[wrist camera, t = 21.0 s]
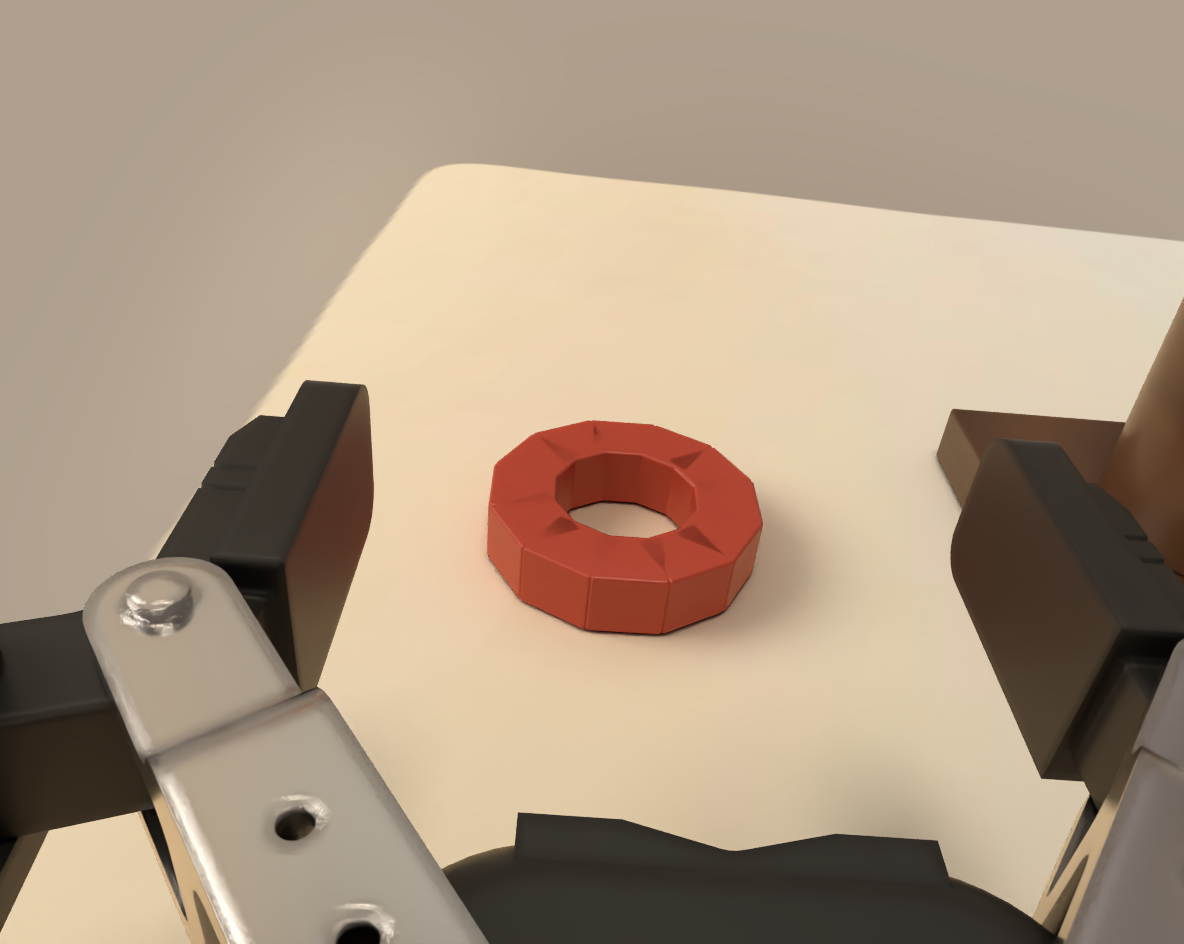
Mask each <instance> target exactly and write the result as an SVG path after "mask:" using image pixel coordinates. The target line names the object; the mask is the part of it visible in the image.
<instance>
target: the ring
mask: <svg viewBox="0 0 1184 944" xmlns="http://www.w3.org/2000/svg"><path fill="white" fill-rule="evenodd" d="M601 500H605V501H620V502H635V503H638V504H641V505H643V506H646V507H648V508H651V509H653V510H656V511H658V512H661V513H663V514H666V515H667V516H668V517H669V518H670V519H671V520H672V521H673V522H674V523H675V524H676V525H677V526H678V527H679V528H680V529H677V530H673V531H670V532H667V533H664V534H660V535H657V536H654V537H650V538H639V537H624V536H609V535H607V534H604V533H602V532H599V531H597V530H595V529H592V528H590V527H588V526H585V525H583V524H580V523H578V522H576V521H574V520H573V519H572V518H571V517H570V516H569V515H568V513H567V512H568V511H569V510H570V509H572V508H576V507H579V506H583V505H586V504H590V503H594V502H597V501H601ZM762 525H763V522H762V517H761V513H760V509H759V505H758V501H757V496H756V492H755V488H754V484H753V482H751V480H750V479H749V478H748V477H747V476H746V475H745V474H744V473H742V472H741V471H740V470H739V469H738V468H737V467H736V466H734V465H733V464H732V463H731V462H730V461H729V460H727V459H726V458H725V457H724V456H723V455H722V454H721V453H719V452H718V451H717V450H716V449H715V448H712V447H711V446H710V445H708V444H705V443H702V442H700V441H697V440H694V439H692V438H689V437H686V436H683V435H681V434H678V433H675V432H672V431H670V430H667V429H664V428H661V427H659V426H654V425H651V424H637V423H623V422H608V421H594V420H593V421H584V422H580V423H576V424H571V425H567V426H563V427H559V428H554V429H550V430H546V431H541V432H537V433H534V435H531V436H530V437H528V438H527V439H526V440H525V441H523V442H522V443H521V444H520V445H518V446H517V447H516V448H515V449H513V450H512V451H511V452H510V453H508V454H507V455H506V456H504V457H503V458H502V459H501V460H499V461H498V462H497V464H495V466H494V471H493V478H492V485H491V492H490V498H489V506H488V541H487V553H488V556H489V558H490V559H491V561H492V562H493V563H494V565H495V566H496V567H497V569H498V570H499V572H500V573H501V574H502V576H503V577H504V578H505V580H506V581H507V583H508V584H509V585H510V587H511V588H512V589H513V591H514V592H515V594H516V595H517V596H518V598H520V599H521V600H522V601H524V602H526V603H528V604H530V605H532V606H535V607H537V608H539V609H541V610H543V611H545V612H547V613H550V614H552V615H554V616H556V617H558V618H560V619H562V620H564V621H567V622H569V623H571V624H573V625H575V626H577V627H579V628H582V629H585V628H586V629H587V630H598V631H614V632H631V633H647V634H660V633H661V632H662V633H666V632H669V631H672V630H675V629H677V628H680V627H683V626H686V625H689V624H691V623H694V622H697V621H700V620H702V619H705V618H708V617H711V616H713V615H716V614H719V613H721V612H722V611H725V610H726V608H727V607H728V606H729V604H730V603H731V601H732V600H733V599H734V597H735V596H736V594H737V593H738V591H739V590H740V589H741V587H742V586H743V584H744V583H745V582H746V580H747V579H748V577H749V576H750V574H751V573H752V570H753V566H754V561H755V557H756V553H757V548H758V544H759V540H760V535H761V531H762Z"/></svg>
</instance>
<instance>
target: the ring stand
mask: <svg viewBox="0 0 1184 944" xmlns="http://www.w3.org/2000/svg"><path fill="white" fill-rule="evenodd" d="M996 438H1008V439H1020V440H1033V441H1045V442H1055V443H1057V444H1059V445H1060V446H1061V447H1062V448H1063V449H1064V451H1065V452H1066V454H1067V455H1068V456H1069V458H1070V459H1071V461H1072V462H1073V464H1074V465H1075V467H1076V468H1077V469H1078V471H1079V472H1080V474H1081V475H1082V477H1083V478H1084V479H1085V481H1086V482H1087V483H1094V484H1096V485H1097V486H1098V487H1100V488H1101V489H1102V490H1104V491H1105V492H1106V493H1108V494H1109V495H1110V496H1112V497H1113V498H1114V499H1116V500H1117V501H1118V502H1120V503H1121V504H1122V505H1123V506H1125V507H1126V508H1127V509H1128V510H1129V511H1130V512H1131V514H1132V515H1133V517H1134V518H1135V519H1136V521H1137V522H1138V523H1139V525H1140V526H1141V527H1142V529H1143V530H1144V532H1145V533H1146V534H1147V536H1148V542H1152V543H1153V544H1154V545H1155V547H1156V548H1157V549H1158V551H1159V552H1160V554H1161V555H1162V556H1163V558H1164V559H1165V560H1164V565H1169V566H1170V567H1171V569H1172V570H1173V571H1174V573H1175V574H1176V575H1177V577H1178V578H1179V580H1180V581H1181V582H1182V584H1183V585H1184V298H1183V300H1182V302H1181V305H1180V307H1179V309H1178V311H1177V313H1176V315H1175V318H1174V320H1173V322H1172V324H1171V326H1170V328H1169V331H1168V333H1167V335H1166V337H1165V339H1164V341H1163V344H1162V346H1161V348H1160V350H1159V352H1158V354H1157V357H1156V359H1155V361H1154V363H1153V365H1152V367H1151V369H1150V372H1149V374H1148V376H1147V378H1146V380H1145V382H1144V385H1143V387H1142V389H1141V391H1140V393H1139V395H1138V398H1137V400H1136V402H1135V404H1134V406H1133V408H1132V411H1131V413H1130V415H1129V417H1128V419H1127V421H1126V423H1125V422H1113V421H1100V420H1088V419H1075V418H1062V417H1050V416H1037V415H1025V414H1012V413H1000V412H987V411H975V410H962V409H952V411H951V413H950V416H949V419H948V422H947V425H946V428H945V431H944V434H943V437H942V439H941V442H940V445H939V448H938V451H937V458H938V460H939V462H940V464H941V466H942V468H943V470H944V472H945V474H946V476H947V478H948V480H949V482H950V484H951V486H952V488H953V490H954V492H955V494H956V496H957V498H958V500H959V502H960V504H961V506H962V508H963V507H964V504H965V501H966V498H967V496H968V493H969V490H970V488H971V485H972V482H973V480H974V477H975V474H976V472H977V469H978V466H979V464H980V461H981V458H982V456H983V453H984V451H985V449H986V447H987V446H988V444H989V443H990V442H991V441H992V440H993V439H996Z"/></svg>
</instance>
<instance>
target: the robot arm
mask: <svg viewBox="0 0 1184 944" xmlns="http://www.w3.org/2000/svg"><path fill="white" fill-rule="evenodd" d="M373 498H374V481H373V463H372V444H371V425H370V406H369V396H368V391H367V388H366V386H365V385H361V384H348V383H336V382H324V381H311V380H306V381H304V382H303V384H302V385H301V387H300V389H299V391H298V393H297V395H296V396H295V398H294V400H293V402H292V404H291V406H290V408H289V410H288V411H287V413H286V415H285V417H276V416H263V415H260V416H258V417H257V418H255V419H254V420H253V421H251V422H250V423H248V424H247V425H245V426H244V427H242V428H241V429H240V430H238V431H237V432H235V433H234V434H232V435H231V436H230V437H229V438H228V440H227V442H226V443H225V445H224V447H223V448H222V450H221V452H220V454H219V455H218V457H217V458H216V460H215V462H214V467H211V468H210V470H209V471H208V473H207V475H206V476H205V478H204V480H203V481H202V487H201V488H198V490H197V491H196V493H195V495H194V496H193V498H192V500H191V501H190V503H189V505H188V506H187V508H186V510H185V511H184V513H183V515H182V516H181V518H180V519H179V521H178V523H177V524H176V526H175V528H174V529H173V531H172V533H171V534H170V536H169V538H168V539H167V541H166V543H165V544H164V546H163V548H162V549H161V551H160V553H159V554H158V556H157V558H156V559H154V560H150V561H146V562H142V563H139V564H136V565H133V566H131V567H128V568H126V569H124V570H122V571H120V572H118V573H116V574H114V575H113V576H111V577H110V578H108V579H107V580H105V581H104V582H103V583H102V584H101V585H99V587H97V589H95V590H94V592H93V593H92V594H91V595H90V597H89V598H88V600H87V602H86V604H85V607H84V610H81V611H77V612H73V613H68V614H63V615H57V616H51V617H44V618H37V619H31V620H24V621H17V622H10V623H4V624H0V932H1V930H2V928H3V926H4V924H5V921H6V919H7V917H8V915H9V913H10V911H11V909H12V907H13V905H14V903H15V900H16V898H17V896H18V894H19V892H20V890H21V888H22V886H23V884H24V882H25V879H26V877H27V875H28V873H29V871H30V869H31V867H32V865H33V863H34V860H35V858H36V856H37V854H38V852H39V850H40V848H41V846H42V844H43V842H44V839H45V837H46V835H47V833H48V831H49V830H53V829H58V828H62V827H67V826H72V825H77V824H81V823H86V822H91V821H96V820H100V819H105V818H110V817H115V816H119V815H124V814H129V813H134V812H138V814H139V817H140V819H141V822H142V824H143V826H144V829H145V831H146V834H147V836H148V839H149V841H150V844H151V846H152V849H153V851H154V854H155V856H156V858H157V861H158V863H159V866H160V868H161V871H162V873H163V876H164V878H165V881H166V883H167V886H168V888H169V890H170V893H171V895H172V898H173V900H174V903H175V905H176V908H177V910H178V913H179V915H180V918H181V920H182V922H183V925H184V927H185V930H186V932H187V935H188V937H189V940H190V942H191V944H1184V585H1183V584H1182V582H1181V581H1180V580H1179V578H1178V577H1177V575H1176V574H1175V573H1174V571H1173V570H1172V569H1171V567H1170V566H1169V565H1164V560H1165V559H1164V558H1163V556H1162V555H1161V554H1160V552H1159V551H1158V549H1157V548H1156V547H1155V545H1154V544H1153V543H1152V542H1148V536H1147V534H1146V533H1145V532H1144V530H1143V529H1142V527H1141V526H1140V525H1139V523H1138V522H1137V521H1136V519H1135V518H1134V517H1133V515H1132V514H1131V512H1130V511H1129V510H1128V509H1127V508H1126V507H1125V506H1123V505H1122V504H1121V503H1120V502H1118V501H1117V500H1116V499H1114V498H1113V497H1112V496H1110V495H1109V494H1108V493H1106V492H1105V491H1104V490H1102V489H1101V488H1100V487H1098V486H1097V485H1096V484H1094V483H1087V482H1086V481H1085V479H1084V478H1083V477H1082V475H1081V474H1080V472H1079V471H1078V469H1077V468H1076V467H1075V465H1074V464H1073V462H1072V461H1071V459H1070V458H1069V456H1068V455H1067V454H1066V452H1065V451H1064V449H1063V448H1062V447H1061V446H1060V445H1059V444H1057V443H1055V442H1045V441H1033V440H1020V439H1008V438H996V439H993V440H992V441H991V442H990V443H989V444H988V446H987V447H986V449H985V451H984V453H983V456H982V458H981V461H980V464H979V466H978V469H977V472H976V474H975V477H974V480H973V482H972V485H971V488H970V490H969V493H968V496H967V498H966V501H965V504H964V507H963V509H962V512H961V515H960V517H959V520H958V523H957V525H956V528H955V531H954V534H953V538H952V544H951V569H952V574H953V578H954V581H955V583H956V585H957V588H958V590H959V592H960V594H961V597H962V599H963V601H964V604H965V606H966V608H967V610H968V613H969V615H970V617H971V620H972V622H973V624H974V626H975V629H976V631H977V633H978V635H979V638H980V640H981V642H982V645H983V647H984V649H985V651H986V654H987V656H988V658H989V661H990V663H991V665H992V667H993V670H994V672H995V674H996V676H997V679H998V681H999V683H1000V686H1001V688H1002V690H1003V692H1004V695H1005V697H1006V699H1007V702H1008V704H1009V706H1010V708H1011V711H1012V713H1013V715H1014V717H1015V720H1016V722H1017V724H1018V727H1019V729H1020V731H1021V733H1022V736H1023V738H1024V740H1025V742H1026V745H1027V747H1028V749H1029V752H1030V754H1031V756H1032V758H1033V761H1034V763H1035V765H1036V768H1037V770H1038V772H1039V774H1040V777H1041V779H1055V780H1069V781H1084V783H1085V785H1086V787H1087V789H1088V791H1089V793H1090V794H1089V795H1088V797H1087V799H1086V800H1085V802H1084V804H1083V805H1082V807H1081V809H1080V811H1079V812H1078V814H1077V817H1076V819H1075V821H1074V823H1073V826H1072V828H1071V830H1070V833H1069V835H1068V837H1067V839H1066V842H1065V844H1064V846H1063V849H1062V851H1061V853H1060V855H1059V858H1058V860H1057V862H1056V865H1055V867H1054V869H1053V871H1052V874H1051V876H1050V878H1049V881H1048V883H1047V885H1046V887H1045V890H1044V892H1043V894H1042V896H1041V899H1040V901H1039V903H1038V906H1037V908H1036V910H1035V912H1034V915H1033V917H1032V918H1031V917H1030V916H1028V915H1027V914H1025V913H1024V912H1022V911H1020V910H1019V909H1017V908H1016V907H1014V906H1013V905H1011V904H1009V903H1008V902H1006V901H1004V900H1002V899H1000V898H998V897H996V896H994V895H992V894H990V893H988V892H986V891H985V890H982V889H980V888H977V887H975V886H973V885H970V884H968V883H965V882H963V881H960V880H958V879H955V878H952V877H949V876H948V873H947V869H946V866H945V863H944V860H943V857H942V853H941V850H940V847H939V844H938V841H934V840H919V839H905V838H890V837H875V836H860V835H845V834H832V835H826V836H821V837H815V838H810V839H804V840H798V841H793V842H787V843H782V844H776V845H770V846H765V847H759V848H754V849H748V850H741V851H728V850H724V849H719V848H716V847H713V846H709V845H706V844H703V843H699V842H696V841H693V840H689V839H686V838H682V837H679V836H676V835H672V834H669V833H666V832H662V831H659V830H656V829H652V828H649V827H646V826H642V825H639V824H635V823H632V822H629V821H625V820H622V819H607V818H592V817H577V816H562V815H547V814H532V813H518V818H517V828H516V839H515V845H514V846H508V847H503V848H497V849H493V850H489V851H486V852H483V853H479V854H476V855H473V856H470V857H467V858H465V859H463V860H461V861H458V862H456V863H454V864H451V865H449V866H447V867H445V868H443V869H441V868H440V867H439V865H438V864H437V862H436V861H435V859H434V858H433V856H432V855H431V853H430V852H429V850H428V848H427V847H426V845H425V844H424V842H423V841H422V839H421V838H420V836H419V835H418V833H417V831H416V830H415V828H414V827H413V825H412V824H411V822H410V821H409V819H408V818H407V816H406V814H405V813H404V811H403V810H402V808H401V807H400V805H399V804H398V802H397V801H396V799H395V797H394V796H393V794H392V793H391V791H390V790H389V788H388V787H387V785H386V784H385V782H384V780H383V779H382V777H381V776H380V774H379V773H378V771H377V770H376V768H375V767H374V765H373V764H372V762H371V760H370V759H369V757H368V756H367V754H366V753H365V751H364V750H363V748H362V747H361V745H360V743H359V742H358V740H357V739H356V737H355V736H354V734H353V733H352V731H351V730H350V728H349V726H348V725H347V723H346V722H345V720H344V719H343V717H342V716H341V714H340V713H339V711H338V709H337V708H336V706H335V705H334V703H333V702H332V701H331V699H330V698H329V697H328V695H327V694H326V693H325V692H324V691H323V690H322V689H320V688H318V687H317V685H318V682H319V679H320V676H321V673H322V670H323V667H324V664H325V661H326V658H327V655H328V652H329V649H330V646H331V643H332V640H333V637H334V634H335V631H336V628H337V625H338V622H339V619H340V616H341V613H342V610H343V607H344V604H345V601H346V598H347V595H348V592H349V589H350V586H351V583H352V580H353V577H354V574H355V571H356V568H357V565H358V562H359V559H360V556H361V553H362V550H363V547H364V544H365V541H366V538H367V535H368V532H369V528H370V523H371V517H372V510H373Z"/></svg>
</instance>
